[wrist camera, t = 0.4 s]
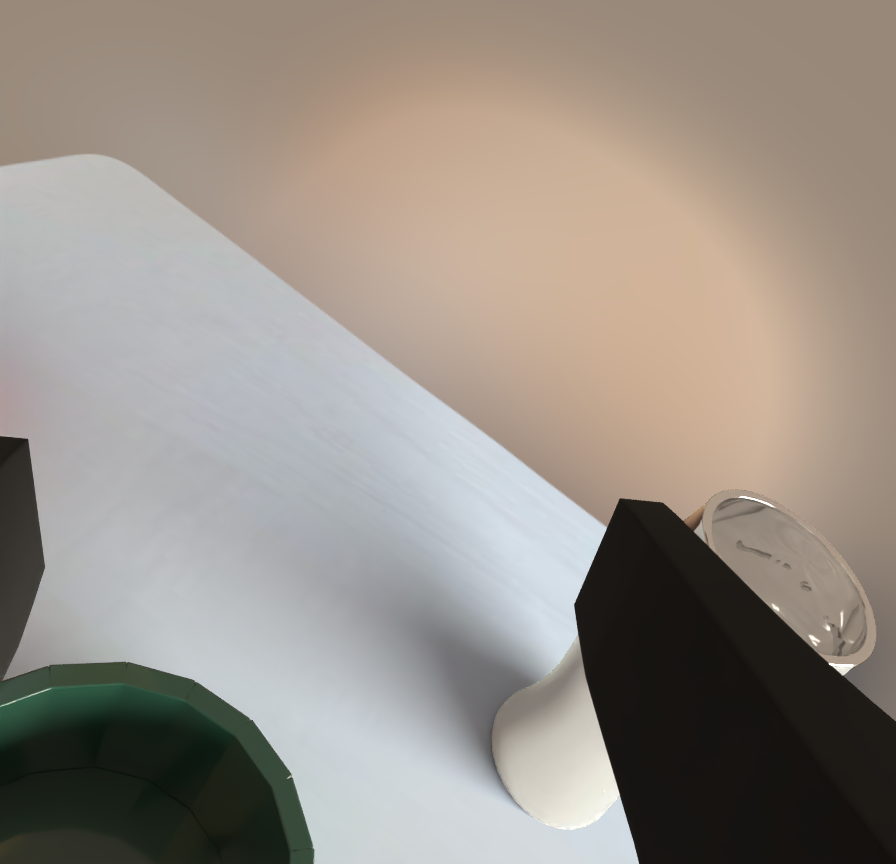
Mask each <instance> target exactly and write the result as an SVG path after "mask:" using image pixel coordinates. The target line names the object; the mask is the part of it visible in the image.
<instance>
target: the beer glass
mask: <svg viewBox="0 0 896 864" xmlns="http://www.w3.org/2000/svg"><path fill="white" fill-rule="evenodd" d="M683 522H685V523H686V524H687V525H688V526H689V527H690V528H691V529H692V530H693V531H694V532H695V533H696V534H697V535H698V536H699V537H700V538H701V539H702V540H703V541H704V542H705V543H706V544H707V545H708V546H709V547H710V548H711V549H712V550H713V551H714V552H715V553H716V554H717V555H718V556H719V557H720V558H721V559H722V560H723V561H724V562H725V563H726V564H727V565H728V566H729V567H730V568H731V569H732V570H733V571H734V572H735V573H736V574H737V575H738V576H739V577H740V578H741V579H742V580H743V581H744V582H745V583H746V584H747V585H748V586H749V587H750V588H751V589H752V590H753V591H754V592H755V593H756V594H757V595H758V596H759V597H760V598H761V599H762V600H763V601H764V602H765V603H766V604H767V605H768V606H769V607H770V608H771V609H772V610H773V611H774V612H775V613H776V614H777V615H778V616H779V617H780V618H781V619H782V620H783V621H784V622H785V623H786V624H788V625H789V626H790V627H791V628H792V629H793V630H794V631H795V632H796V633H797V634H798V635H799V636H800V637H801V638H802V639H803V640H804V641H805V642H807V643H808V644H809V645H810V646H811V647H812V648H813V649H814V650H815V651H816V652H817V653H818V654H819V655H820V656H821V657H823V658H824V659H825V660H826V661H827V662H828V663H829V664H830V665H832V666H833V667H834V668H835V669H836V670H837V671H838V672H839V673H841V674H842V675H845V674H846V673H847V672H848V671H850V670H851V669H852V668H854V667H855V666H857V665H859V664H861V663H863V662H864V661H866V660H867V659H868V658H869V657H870V655H871V654H872V652H873V650H874V647H875V643H876V623H875V618H874V615H873V611H872V608H871V605H870V603H869V600H868V598H867V596H866V594H865V592H864V590H863V588H862V586H861V585H860V583H859V581H858V579H857V578H856V576H855V575H854V573H853V572H852V570H851V569H850V567H849V566H848V565H847V563H846V562H845V561H844V559H843V558H842V557H841V556H840V554H839V553H838V552H837V551H836V550H835V549H834V547H833V546H832V545H831V544H830V543H829V542H828V541H827V540H826V539H825V538H824V537H823V536H822V535H821V534H820V533H819V532H818V531H817V530H815V529H814V528H813V527H812V526H811V525H810V524H808V523H807V522H806V521H805V520H803V519H802V518H801V517H800V516H798V515H797V514H795V513H794V512H792V511H791V510H789V509H788V508H786V507H785V506H783V505H781V504H779V503H778V502H776V501H774V500H772V499H770V498H767V497H765V496H763V495H760V494H757V493H754V492H750V491H745V490H726V491H722V492H719V493H717V494H715V495H714V496H713V497H711V498H710V499H709V501H708V502H707V503H706V504H705V505H703V506H702V507H701V508H700V509H698V510H697V511H696V512H695V513H693V514H692V515H691V516H689V517H688V518H687V519H685V520H684V521H683ZM491 744H492V753H493V758H494V762H495V765H496V768H497V771H498V773H499V776H500V778H501V780H502V782H503V784H504V786H505V787H506V789H507V790H508V792H509V793H510V795H511V796H512V798H513V799H514V800H515V801H516V802H517V803H518V805H519V806H520V807H521V808H522V809H523V810H525V811H526V812H527V813H528V814H529V815H531V816H532V817H534V818H535V819H537V820H538V821H540V822H542V823H544V824H546V825H548V826H551V827H554V828H558V829H565V830H573V829H579V828H583V827H586V826H588V825H590V824H592V823H594V822H595V821H596V820H598V819H599V818H600V817H601V816H602V815H603V814H604V813H605V812H606V811H607V810H608V809H609V808H610V806H611V805H612V804H613V803H614V802H615V800H616V799H617V798H618V797H619V796H620V794H619V791H618V787H617V784H616V780H615V777H614V774H613V770H612V767H611V764H610V760H609V757H608V754H607V750H606V747H605V743H604V740H603V737H602V733H601V730H600V726H599V723H598V719H597V716H596V713H595V709H594V706H593V702H592V699H591V695H590V692H589V688H588V684H587V681H586V677H585V672H584V666H583V660H582V654H581V649H580V643H579V635H577V637H576V639H575V640H574V642H573V643H572V645H571V646H570V648H569V650H568V651H567V652H566V654H565V655H564V657H563V658H562V660H561V661H560V662H559V664H558V665H557V666H556V667H555V668H554V669H553V670H552V671H551V672H550V673H549V674H548V675H547V676H546V677H544V678H543V679H542V680H540V681H538V682H537V683H535V684H533V685H531V686H529V687H526V688H524V689H522V690H520V691H518V692H516V693H515V694H513V695H512V696H510V697H509V698H508V699H507V700H506V701H505V702H504V703H503V704H502V706H501V707H500V709H499V710H498V712H497V714H496V717H495V719H494V723H493V727H492V736H491Z"/></svg>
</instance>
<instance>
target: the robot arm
mask: <svg viewBox="0 0 896 864" xmlns="http://www.w3.org/2000/svg"><path fill="white" fill-rule="evenodd" d="M44 569H45V563H44V556H43V548H42V541H41V533H40V526H39V518H38V510H37V503H36V495H35V488H34V480H33V473H32V465H31V458H30V450H29V442H28V439H23V438H13V437H4V436H0V684H1V682H2V680H3V678H4V676H5V674H6V671H7V669H8V667H9V665H10V663H11V661H12V659H13V657H14V655H15V652H16V650H17V648H18V646H19V643H20V640H21V638H22V635H23V632H24V629H25V626H26V623H27V620H28V618H29V615H30V612H31V609H32V606H33V603H34V600H35V597H36V594H37V590H38V587H39V584H40V581H41V578H42V575H43V572H44ZM574 607H575V614H576V621H577V628H578V635H579V643H580V649H581V654H582V660H583V666H584V672H585V677H586V681H587V684H588V688H589V692H590V695H591V699H592V702H593V706H594V709H595V713H596V716H597V719H598V723H599V726H600V730H601V733H602V737H603V740H604V743H605V747H606V750H607V754H608V757H609V760H610V764H611V767H612V770H613V774H614V777H615V780H616V784H617V787H618V791H619V794H620V797H621V801H622V804H623V807H624V811H625V814H626V817H627V821H628V824H629V828H630V831H631V834H632V838H633V841H634V845H635V849H636V853H637V857H638V861H639V864H896V721H895V720H893V719H892V718H891V717H890V716H889V715H887V714H886V713H885V712H884V711H883V710H882V709H880V708H879V707H878V706H877V705H876V704H874V703H873V702H872V701H871V700H870V699H869V698H867V697H866V696H865V695H864V694H863V693H862V692H861V691H860V690H858V689H857V688H856V687H855V686H854V685H853V684H852V683H850V682H849V681H848V680H847V679H846V678H845V677H844V676H843V675H842V674H841V673H839V672H838V671H837V670H836V669H835V668H834V667H833V666H832V665H830V664H829V663H828V662H827V661H826V660H825V659H824V658H823V657H821V656H820V655H819V654H818V653H817V652H816V651H815V650H814V649H813V648H812V647H811V646H810V645H809V644H808V643H807V642H805V641H804V640H803V639H802V638H801V637H800V636H799V635H798V634H797V633H796V632H795V631H794V630H793V629H792V628H791V627H790V626H789V625H788V624H786V623H785V622H784V621H783V620H782V619H781V618H780V617H779V616H778V615H777V614H776V613H775V612H774V611H773V610H772V609H771V608H770V607H769V606H768V605H767V604H766V603H765V602H764V601H763V600H762V599H761V598H760V597H759V596H758V595H757V594H756V593H755V592H754V591H753V590H752V589H751V588H750V587H749V586H748V585H747V584H746V583H745V582H744V581H743V580H742V579H741V578H740V577H739V576H738V575H737V574H736V573H735V572H734V571H733V570H732V569H731V568H730V567H729V566H728V565H727V564H726V563H725V562H724V561H723V560H722V559H721V558H720V557H719V556H718V555H717V554H716V553H715V552H714V551H713V550H712V549H711V548H710V547H709V546H708V545H707V544H706V543H705V542H704V541H703V540H702V539H701V538H700V537H699V536H698V535H697V534H696V533H695V532H694V531H693V530H692V529H691V528H690V527H689V526H688V525H687V524H686V523H685V522H683V521H682V520H681V519H680V518H679V517H678V516H677V515H676V514H675V513H674V512H673V511H672V510H670V509H669V508H668V507H667V506H666V505H665V504H664V503H660V502H651V501H641V500H631V499H619V502H618V504H617V506H616V509H615V511H614V513H613V516H612V518H611V520H610V523H609V525H608V527H607V530H606V532H605V534H604V537H603V539H602V541H601V544H600V546H599V548H598V551H597V553H596V555H595V558H594V560H593V562H592V565H591V567H590V569H589V572H588V574H587V576H586V579H585V581H584V583H583V586H582V588H581V590H580V593H579V595H578V597H577V599H576V602H575V604H574Z"/></svg>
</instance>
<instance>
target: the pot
mask: <svg viewBox="0 0 896 864" xmlns="http://www.w3.org/2000/svg"><path fill="white" fill-rule="evenodd" d="M291 776H292V775H291V773H290V772H289V770H288V769H287V767H286V766H285V765H284V763H283V762H282V760H281V759H280V758H279V756H278V755H277V754H276V752H275V751H274V749H273V748H272V747H271V745H270V744H269V742H268V741H267V740H266V738H265V737H264V736H263V734H262V733H261V731H260V730H259V729H258V727H257V726H256V724H255V723H254V722H253V720H250V719H249V718H248V717H247V716H245V715H244V714H243V713H241V712H240V711H238V710H237V709H235V708H234V707H232V706H231V705H229V704H228V703H227V702H225V701H224V700H222V699H221V698H219V697H218V696H216V695H215V694H213V693H212V692H211V691H209V690H208V689H206V688H205V687H203V686H202V685H200V684H199V683H197V682H195V681H194V680H191V679H188V678H184V677H181V676H177V675H173V674H170V673H166V672H162V671H159V670H155V669H152V668H148V667H144V666H141V665H137V664H133V663H130V662H127V663H126V662H111V663H86V664H62V665H50V666H49V667H48V666H46V667H43V668H40V669H37V670H34V671H31V672H28V673H25V674H22V675H19V676H16V677H13V678H10V679H7V680H4V681H2V682H1V684H0V864H314V849H313V844H312V841H311V837H310V834H309V831H308V827H307V824H306V821H305V817H304V814H303V811H302V807H301V804H300V801H299V797H298V794H297V791H296V787H295V784H294V781H293V778H292V777H291Z"/></svg>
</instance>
